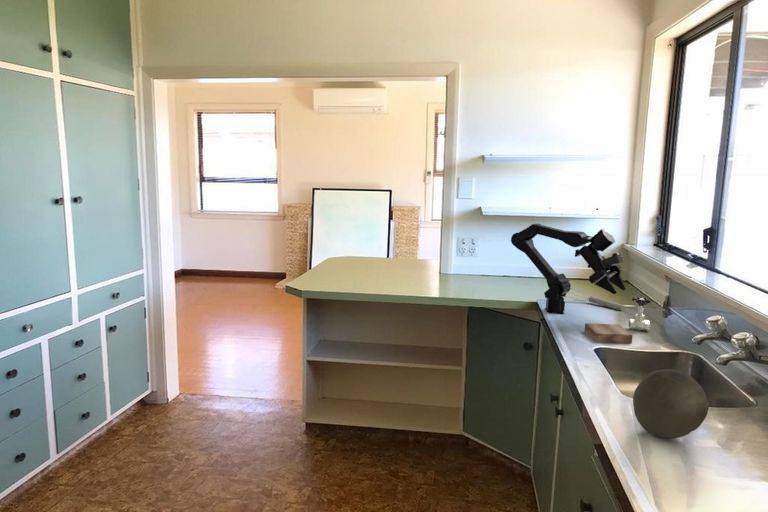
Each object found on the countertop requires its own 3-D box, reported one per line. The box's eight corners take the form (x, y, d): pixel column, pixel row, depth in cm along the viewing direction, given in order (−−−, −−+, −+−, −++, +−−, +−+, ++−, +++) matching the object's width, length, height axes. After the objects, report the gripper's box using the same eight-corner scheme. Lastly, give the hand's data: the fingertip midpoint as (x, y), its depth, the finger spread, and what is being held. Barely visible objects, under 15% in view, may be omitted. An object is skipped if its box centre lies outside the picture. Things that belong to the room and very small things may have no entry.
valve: (650, 333, 193) (654, 301, 191) (631, 332, 195) (634, 300, 193) (645, 328, 200) (649, 297, 198) (626, 326, 201) (630, 295, 199)
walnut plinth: (595, 342, 182) (596, 333, 182) (584, 331, 194) (585, 323, 194) (631, 343, 182) (632, 334, 181) (618, 332, 194) (618, 324, 193)
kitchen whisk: (623, 313, 220) (625, 298, 219) (552, 297, 246) (553, 284, 245) (630, 311, 224) (632, 296, 223) (560, 295, 250) (561, 282, 249)
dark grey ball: (641, 449, 113) (648, 381, 110) (623, 418, 127) (629, 358, 124) (713, 456, 111) (722, 388, 108) (687, 424, 124) (695, 363, 122)
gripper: (600, 248, 194) (628, 282, 189) (619, 243, 208) (646, 275, 202) (577, 266, 201) (604, 300, 195) (597, 260, 214) (622, 292, 209)
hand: (620, 291), depth 200 cm, fingers open, 9 cm apart
